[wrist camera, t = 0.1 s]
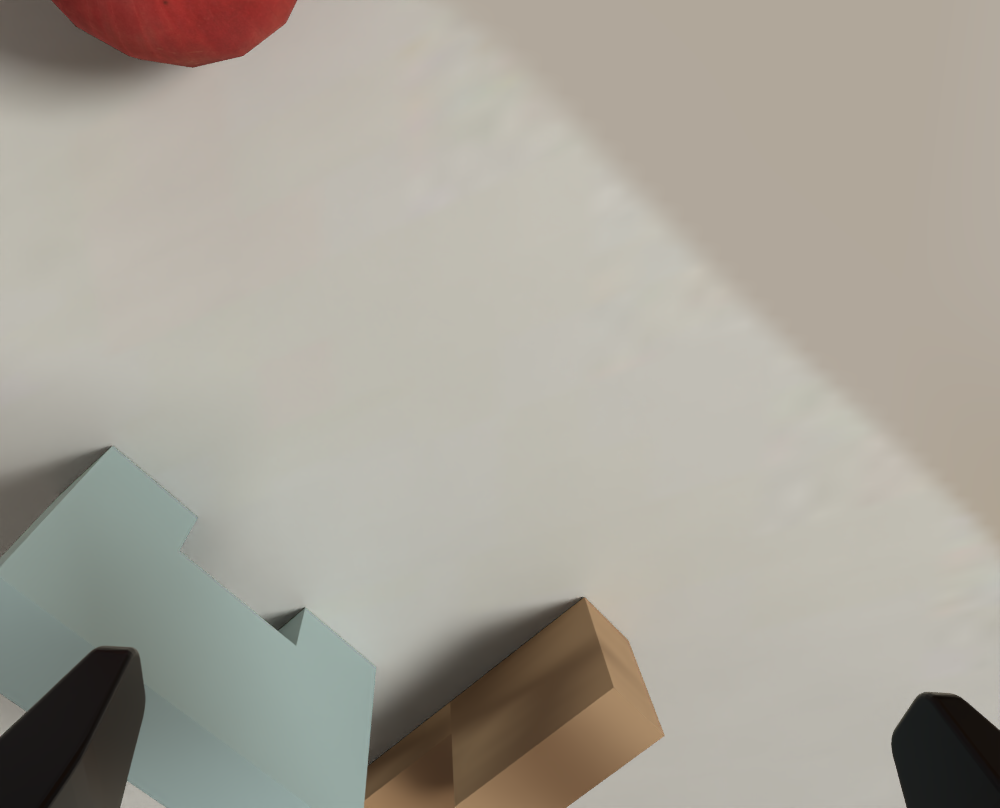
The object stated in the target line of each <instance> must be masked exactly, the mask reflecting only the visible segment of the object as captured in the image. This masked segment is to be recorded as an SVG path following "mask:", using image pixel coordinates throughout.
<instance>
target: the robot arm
mask: <svg viewBox="0 0 1000 808" xmlns="http://www.w3.org/2000/svg"><path fill="white" fill-rule="evenodd" d="M145 702H146V695H145V687H144V680H143V673H142V666H141V660H140V655H139V652H138V651H137V649H135V648H133V647H123V646H99V647H97V648H95V649H93V650H92V651H90V652H89V653H88V654H87V655H86V656H85V657H84V658H83V659H82V660H81V661H80V662H79V663H78V664H77V665H75V666H74V667H73V668H72V669H71V670H70V671H69V672H68V673H67V674H66V675H65V676H64V677H63V678H62V679H61V680H60V681H59V682H58V683H56V684H55V685H54V686H53V687H52V688H51V689H50V690H49V691H48V692H47V693H46V694H45V695H44V696H43V697H42V698H41V699H40V700H39V701H38V702H36V703H35V704H34V705H33V706H32V707H31V708H30V709H29V710H28V711H27V712H26V713H25V714H24V715H23V716H22V717H21V718H20V719H19V720H18V721H16V722H15V723H14V724H13V725H12V726H11V727H10V728H9V729H8V730H7V731H6V732H5V733H4V734H3V735H2V736H1V737H0V808H120V806H121V802H122V798H123V794H124V790H125V786H126V782H127V778H128V775H129V771H130V767H131V763H132V759H133V755H134V751H135V747H136V744H137V740H138V736H139V732H140V728H141V724H142V720H143V716H144V711H145ZM891 745H892V753H893V758H894V761H895V765H896V769H897V773H898V777H899V780H900V784H901V788H902V792H903V795H904V799H905V803H906V807H907V808H1000V730H999V729H998V728H996V727H995V726H994V725H993V724H992V723H991V722H990V721H988V720H987V719H986V718H985V717H984V716H983V715H981V714H980V713H979V712H978V711H977V710H976V709H974V708H973V707H972V706H971V705H970V704H969V703H967V702H966V701H965V700H964V699H962V698H961V697H959V696H957V695H955V694H951V693H938V692H924V693H921V694H919V695H918V696H917V697H916V698H915V700H914V701H913V703H912V704H911V706H910V707H909V709H908V710H907V712H906V713H905V715H904V716H903V718H902V719H901V721H900V722H899V724H898V725H897V727H896V728H895V730H894V732H893V735H892V742H891Z"/></svg>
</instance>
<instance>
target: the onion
mask: <svg viewBox="0 0 1000 808" xmlns="http://www.w3.org/2000/svg"><path fill="white" fill-rule="evenodd" d="M52 1H53V2H54V3H55V5H56V6H57V7H58V8H59V9H60V10H61V11H62V12H63V13H64V14H65V15H66V16H67V17H68V18H69V19H70V21H71V22H72V23H73V24H74V25H75V26H76V27H78V28H80V29H81V30H83V31H85V32H87V33H89V34H90V35H92V36H94V37H96V38H98V39H99V40H101V41H103V42H105V43H107V44H108V45H110V46H112V47H114V48H115V49H117V50H119V51H121V52H123V53H124V54H126V55H128V56H131V57H134V58H137V59H141V60H148V61H154V62H160V63H167V64H173V65H180V66H186V67H192V68H193V67H197V66H202V65H206V64H210V63H215V62H219V61H223V60H228V59H232V58H236V57H241V56H244V55H245V54H246V53H248V52H249V51H250V50H251V49H253V48H254V47H255V46H257V45H258V44H259V43H261V42H262V41H263V40H265V39H266V38H267V37H268V36H270V35H271V34H272V33H274V32H275V31H276V30H278V29H279V28H280V27H282V26H283V25H284V24H285V23H286V22H287V20H288V18H289V16H290V14H291V12H292V10H293V8H294V6H295V3H296V1H297V0H52Z"/></svg>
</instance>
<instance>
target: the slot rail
mask: <svg viewBox="0 0 1000 808" xmlns="http://www.w3.org/2000/svg"><path fill="white" fill-rule="evenodd" d="M663 736H664V733H663V730H662V728H661V725H660V722H659V720H658V717H657V714H656V712H655V709H654V707H653V704H652V701H651V699H650V696H649V693H648V691H647V688H646V686H645V683H644V680H643V678H642V675H641V672H640V670H639V667H638V665H637V662H636V659H635V657H634V654H633V651H632V649H631V646H630V644H629V641H628V640H627V639H626V638H625V637H624V636H623V635H622V634H621V633H620V632H619V631H618V630H617V629H616V628H615V627H614V626H613V625H612V624H611V623H610V622H609V621H608V620H607V619H606V618H605V617H604V616H603V615H602V614H601V613H600V612H599V611H598V610H597V609H596V608H595V607H594V606H593V605H592V604H591V603H590V602H589V601H588V600H587V599H586V598H585V597H584V598H583V599H581V600H580V601H579V602H577V603H576V604H575V605H574V606H572V607H571V608H570V609H568V610H567V611H566V612H565V613H563V614H562V615H561V616H560V617H558V618H557V619H556V620H554V621H553V622H552V623H551V624H549V625H548V626H547V627H545V628H544V629H543V630H542V631H540V632H539V633H538V634H537V635H535V636H534V637H533V638H531V639H530V640H529V641H528V642H526V643H525V644H524V645H522V646H521V647H520V648H519V649H517V650H516V651H515V652H513V653H512V654H511V655H510V656H508V657H507V658H506V659H505V660H503V661H502V662H501V663H499V664H498V665H497V666H496V667H494V668H493V669H492V670H490V671H489V672H488V673H487V674H485V675H484V676H483V677H481V678H480V679H479V680H478V681H476V682H475V683H474V684H473V685H471V686H470V687H469V688H467V689H466V690H465V691H464V692H462V693H461V694H460V695H458V696H457V697H456V698H455V699H453V700H452V701H451V702H449V703H448V704H447V705H446V706H444V707H443V708H442V709H441V710H439V711H438V712H437V713H435V714H434V715H433V716H432V717H430V718H429V719H428V720H426V721H425V722H424V723H423V724H421V725H420V726H419V727H417V728H416V729H415V730H414V731H412V732H411V733H410V734H409V735H407V736H406V737H405V738H403V739H402V740H401V741H400V742H398V743H397V744H396V745H394V746H393V747H392V748H391V749H389V750H388V751H387V752H386V753H384V754H383V755H382V756H380V757H379V758H378V759H377V760H375V761H374V762H373V763H371V764H370V765H369V766H368V767H367V777H366V788H365V800H364V808H566V807H568V806H569V805H570V804H572V803H573V802H574V801H576V800H577V799H579V798H580V797H581V796H583V795H584V794H585V793H587V792H588V791H589V790H591V789H592V788H594V787H595V786H596V785H598V784H599V783H600V782H602V781H603V780H605V779H606V778H607V777H609V776H610V775H611V774H613V773H614V772H616V771H617V770H618V769H620V768H621V767H622V766H624V765H625V764H626V763H628V762H629V761H631V760H632V759H633V758H635V757H636V756H637V755H639V754H640V753H642V752H643V751H644V750H646V749H647V748H648V747H650V746H651V745H653V744H654V743H655V742H657V741H658V740H659V739H661V738H662V737H663Z"/></svg>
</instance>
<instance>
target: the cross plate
mask: <svg viewBox="0 0 1000 808" xmlns="http://www.w3.org/2000/svg"><path fill="white" fill-rule="evenodd" d="M197 518H198V517H197V516H196V515H195V514H193V513H192V512H191V511H190V510H189V509H187V508H186V507H185V506H184V505H183V504H181V503H180V502H179V501H178V500H177V499H176V498H174V497H173V496H172V495H171V494H170V493H168V492H167V491H166V490H165V489H164V488H162V487H161V486H160V485H159V484H158V483H156V482H155V481H154V480H153V479H152V478H151V477H149V476H148V475H147V474H146V473H145V472H143V471H142V470H141V469H140V468H139V467H137V466H136V465H135V464H134V463H133V462H132V461H130V460H129V459H128V458H127V457H126V456H124V455H123V454H122V453H121V452H120V451H118V450H117V449H116V448H115V447H114V446H112V447H110V448H109V449H108V450H107V451H106V452H105V453H104V454H103V455H102V456H101V457H100V458H99V459H98V460H97V461H96V462H94V463H93V464H92V465H91V466H90V467H89V468H88V469H87V470H86V471H85V472H84V473H83V474H82V475H81V476H80V477H78V478H77V479H76V480H75V481H74V482H73V483H72V484H71V485H70V486H69V487H68V488H67V489H66V490H65V491H63V492H62V493H61V494H60V495H59V496H58V497H57V498H56V499H55V500H54V501H53V502H52V504H51V505H50V506H49V507H48V508H47V509H46V510H45V511H44V512H43V513H42V514H41V515H40V516H39V517H38V518H37V519H36V521H35V522H34V523H33V524H32V525H31V526H30V527H29V528H28V529H27V530H26V531H25V532H24V533H23V534H22V535H21V536H20V537H19V539H18V540H17V541H16V542H15V543H14V544H13V545H12V546H11V547H10V548H9V549H8V550H7V551H6V552H5V553H4V554H3V555H2V557H1V558H0V694H2V695H3V696H5V697H6V698H8V699H9V700H11V701H12V702H13V703H15V704H16V705H18V706H19V707H21V708H22V709H24V710H25V711H28V710H29V709H30V708H31V707H32V706H33V705H34V704H35V703H36V702H38V701H39V700H40V699H41V698H42V697H43V696H44V695H45V694H46V693H47V692H48V691H49V690H50V689H51V688H52V687H53V686H54V685H55V684H56V683H58V682H59V681H60V680H61V679H62V678H63V677H64V676H65V675H66V674H67V673H68V672H69V671H70V670H71V669H72V668H73V667H74V666H75V665H77V664H78V663H79V662H80V661H81V660H82V659H83V658H84V657H85V656H86V655H87V654H88V653H89V652H90V651H92V650H93V649H95V648H97V647H99V646H123V647H133V648H135V649H137V651H138V652H139V655H140V660H141V666H142V673H143V680H144V687H145V695H146V702H145V711H144V716H143V720H142V724H141V728H140V732H139V736H138V740H137V744H136V747H135V751H134V755H133V759H132V763H131V767H130V771H129V775H128V778H127V781H128V782H130V783H131V784H133V785H134V786H136V787H137V788H139V789H140V790H142V791H143V792H144V793H146V794H147V795H149V796H150V797H152V798H153V799H155V800H156V801H158V802H159V803H160V804H162V805H163V806H165V807H166V808H364V800H365V788H366V777H367V765H368V754H369V743H370V731H371V720H372V708H373V697H374V685H375V674H376V667H375V666H374V665H373V664H372V663H370V662H369V661H368V660H367V659H366V658H365V657H363V656H362V655H361V654H360V653H359V652H357V651H356V650H355V649H354V648H353V647H351V646H350V645H349V644H348V643H347V642H346V641H344V640H343V639H342V638H341V637H340V636H338V635H337V634H336V633H335V632H334V631H332V630H331V629H330V628H329V627H328V626H326V625H325V624H324V623H323V622H322V621H321V620H319V619H318V618H317V617H316V616H315V615H313V614H312V613H311V612H310V611H309V610H307V609H306V608H304V609H303V610H302V611H301V612H300V613H298V614H297V615H296V616H295V617H294V618H293V619H291V620H290V621H289V622H288V623H287V624H285V625H284V626H283V627H282V628H281V629H279V630H278V631H277V630H276V629H275V628H273V627H272V626H271V625H270V624H269V623H267V622H266V621H265V620H264V619H262V618H261V617H260V616H259V615H258V614H256V613H255V612H254V611H253V610H251V609H250V608H249V607H248V606H247V605H245V604H244V603H243V602H242V601H240V600H239V599H238V598H237V597H236V596H234V595H233V594H232V593H231V592H229V591H228V590H227V589H226V588H225V587H223V586H222V585H221V584H220V583H218V582H217V581H216V580H215V579H214V578H212V577H211V576H210V575H209V574H207V573H206V572H205V571H204V570H203V569H201V568H200V567H199V566H198V565H196V564H195V563H194V562H193V561H192V560H190V559H189V558H188V557H187V556H185V555H184V554H183V553H182V552H180V549H181V547H182V545H183V543H184V542H185V540H186V538H187V536H188V534H189V533H190V531H191V529H192V527H193V525H194V524H195V522H196V520H197Z"/></svg>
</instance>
